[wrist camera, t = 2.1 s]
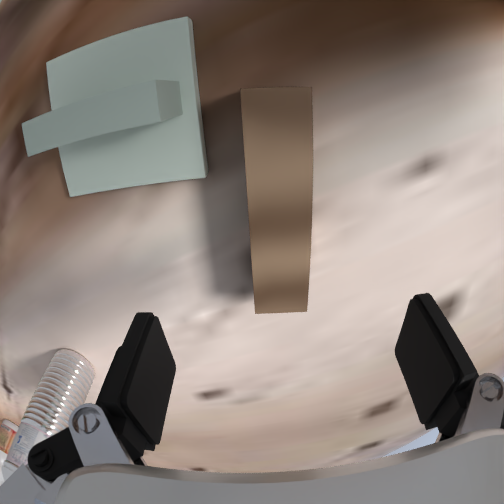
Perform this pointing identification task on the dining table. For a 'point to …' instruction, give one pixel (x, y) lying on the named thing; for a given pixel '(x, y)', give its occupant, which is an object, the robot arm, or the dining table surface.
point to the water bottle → (50, 405)
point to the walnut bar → (279, 194)
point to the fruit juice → (6, 442)
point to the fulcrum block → (125, 110)
